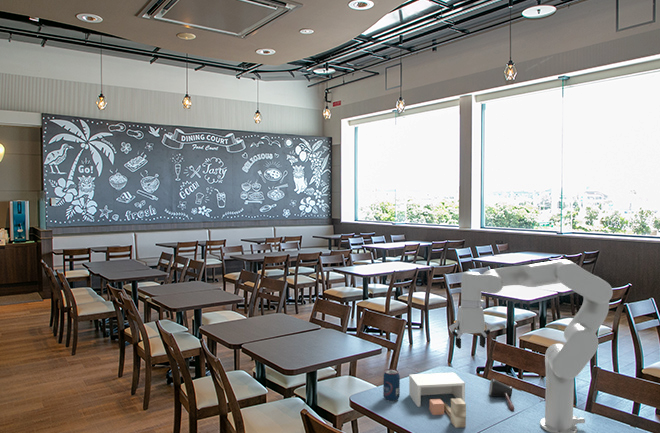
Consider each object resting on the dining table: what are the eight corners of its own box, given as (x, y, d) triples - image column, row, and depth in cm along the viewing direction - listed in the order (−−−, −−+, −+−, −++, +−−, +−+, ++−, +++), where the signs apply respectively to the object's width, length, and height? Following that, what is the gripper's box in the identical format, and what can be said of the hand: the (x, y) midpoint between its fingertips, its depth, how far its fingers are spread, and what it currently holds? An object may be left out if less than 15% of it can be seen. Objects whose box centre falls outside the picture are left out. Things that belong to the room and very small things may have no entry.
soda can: (379, 398, 207) (380, 371, 206) (390, 394, 212) (390, 367, 211) (392, 403, 202) (392, 375, 201) (402, 399, 206) (403, 371, 206)
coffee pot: (488, 390, 215) (508, 394, 213) (491, 413, 198) (513, 418, 196) (491, 375, 213) (511, 379, 211) (495, 397, 196) (517, 402, 194)
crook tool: (448, 406, 199) (449, 385, 198) (465, 427, 182) (466, 403, 181) (431, 407, 198) (432, 386, 198) (447, 428, 181) (447, 404, 180)
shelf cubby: (453, 392, 213) (454, 372, 213) (464, 404, 202) (465, 383, 201) (409, 394, 211) (409, 374, 210) (417, 406, 199) (417, 385, 198)
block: (440, 409, 197) (440, 398, 197) (444, 414, 192) (444, 403, 192) (429, 410, 196) (429, 399, 196) (433, 415, 192) (433, 404, 191)
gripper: (487, 300, 192) (487, 343, 193) (446, 302, 190) (445, 344, 190) (496, 305, 184) (495, 349, 185) (453, 306, 182) (452, 351, 183)
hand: (470, 347), depth 188 cm, fingers open, 9 cm apart
